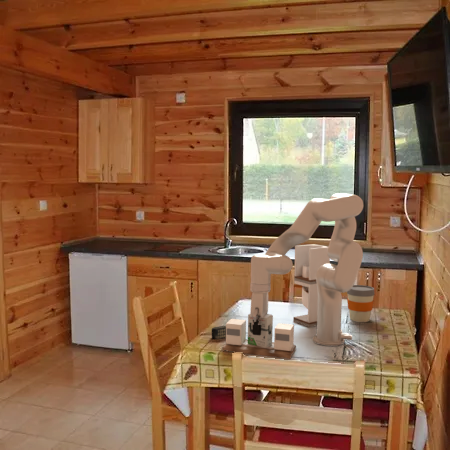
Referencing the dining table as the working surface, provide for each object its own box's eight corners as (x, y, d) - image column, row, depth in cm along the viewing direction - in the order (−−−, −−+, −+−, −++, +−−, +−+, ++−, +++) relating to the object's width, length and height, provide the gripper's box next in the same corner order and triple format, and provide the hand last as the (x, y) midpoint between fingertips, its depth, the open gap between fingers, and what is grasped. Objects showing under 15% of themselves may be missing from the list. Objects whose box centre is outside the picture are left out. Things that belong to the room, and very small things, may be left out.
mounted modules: (293, 345, 200) (293, 324, 200) (289, 351, 194) (290, 330, 193) (231, 338, 208) (231, 318, 207) (225, 343, 201) (225, 323, 200)
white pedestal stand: (312, 317, 246) (313, 244, 243) (327, 323, 238) (330, 247, 234) (293, 321, 240) (295, 245, 237) (308, 327, 231) (310, 248, 228)
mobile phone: (213, 328, 212) (246, 324, 218) (210, 326, 215) (243, 322, 221) (213, 340, 213) (246, 335, 218) (210, 338, 215) (243, 333, 221)
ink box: (246, 343, 201) (247, 313, 200) (253, 340, 206) (253, 310, 204) (266, 348, 197) (267, 317, 195) (272, 344, 201) (273, 314, 199)
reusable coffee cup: (340, 318, 246) (341, 287, 245) (357, 314, 254) (358, 283, 252) (361, 324, 236) (363, 291, 235) (379, 320, 244) (380, 288, 242)
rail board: (295, 348, 203) (295, 343, 203) (290, 358, 192) (290, 353, 191) (231, 341, 211) (231, 336, 211) (222, 350, 199) (222, 345, 199)
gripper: (256, 282, 208) (255, 324, 210) (244, 291, 192) (244, 336, 193) (275, 283, 206) (274, 326, 208) (264, 292, 189) (264, 338, 191)
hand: (259, 331), depth 200 cm, fingers open, 9 cm apart
